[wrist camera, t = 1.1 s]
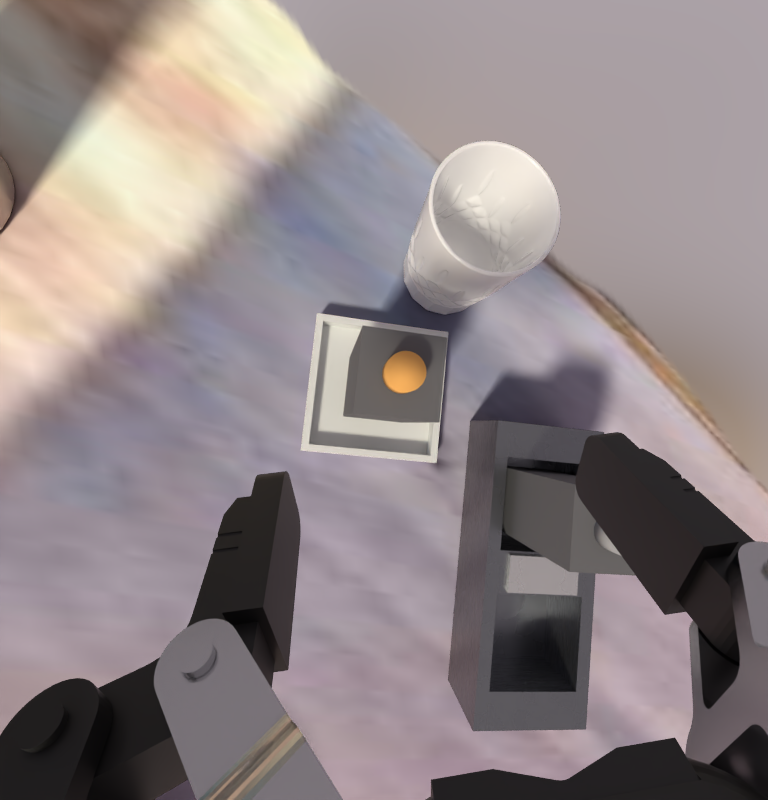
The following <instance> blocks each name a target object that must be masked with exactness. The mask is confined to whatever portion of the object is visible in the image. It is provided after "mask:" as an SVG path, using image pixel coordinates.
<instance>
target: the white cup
mask: <svg viewBox="0 0 768 800" xmlns="http://www.w3.org/2000/svg"><path fill="white" fill-rule="evenodd" d="M560 220H561V210H560V203H559V198H558V195H557V192H556V189H555V186H554V184H553V182H552V180H551V179H550V177H549V175H548V174H547V172H546V171H545V170H544V168H543V167H542V166H541V165H540V164H539V163H538V162H537V161H536V160H535V159H534V158H533V157H531V156H530V155H529V154H527V153H526V152H525V151H523V150H521V149H519V148H517V147H515V146H513V145H510V144H507V143H503V142H498V141H478V142H473V143H469V144H466V145H464V146H462V147H460V148H458V149H456V150H455V151H454V152H452V153H451V154H450V155H449V156H447V157H446V158H445V159H444V161H443V162H442V163H441V164H440V166H439V167H438V169H437V171H436V173H435V175H434V177H433V180H432V182H431V185H430V188H429V191H428V193H427V196H426V199H425V201H424V204H423V207H422V209H421V212H420V214H419V217H418V220H417V222H416V225H415V228H414V231H413V234H412V237H411V240H410V245H409V250H408V253H407V255H406V258H405V260H404V282H405V284H406V286H407V288H408V290H409V292H410V294H411V296H412V298H413V299H414V300H415V301H416V302H418V303H419V304H420V305H421V306H422V307H424V308H425V309H426V310H428V311H432V312H436V313H440V314H444V315H446V314H451V313H455V312H460V311H463V310H465V309H466V308H468V307H469V306H471V305H472V304H474V303H477V302H479V301H481V300H483V299H484V298H486V297H488V296H489V295H491V294H493V293H495V292H496V291H498V290H499V289H501V288H502V287H504V286H506V285H507V284H509V283H510V282H512V281H513V280H515V279H516V278H518V277H520V276H521V275H523V274H524V273H526V272H527V271H529V270H531V269H532V268H534V267H535V266H537V265H538V264H539V263H540V262H541V261H543V260H544V258H545V257H546V256H547V255H548V254H549V252H550V251H551V249H552V248H553V246H554V243H555V241H556V239H557V236H558V232H559V228H560Z"/></svg>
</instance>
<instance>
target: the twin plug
mask: <svg viewBox="0 0 768 800" xmlns="http://www.w3.org/2000/svg"><path fill="white" fill-rule="evenodd" d="M575 479H576V476H575V475H570V474H566V473H561V472H556V471H551V470H547V469H537V468H526V467H515V466H507V473H506V486H505V499H504V511H503V524H502V532H504V533H506V534H507V535H509V536H511V537H512V538H514V539H516V540H517V541H519V542H521V543H522V544H524V545H526V546H527V547H529V548H531V549H532V550H534V551H536V552H537V553H539V554H540V555H542V556H544V557H545V558H547V559H549V560H550V561H552V562H554V563H555V564H557V565H559V566H560V567H562V568H564V569H565V570H567V571H569V572H579V573H598V574H618V575H635V574H634V572H633V571H632V569H631V568H630V567H629V565H628V564H627V563H626V561H625V560H624V559H623V557H622V556H621V554H620V553H619V552H618V550H617V549H616V548H615V546H614V545H613V544H612V542H611V541H610V539H609V538H608V537H607V535H606V534H605V533H604V531H603V530H602V529H601V527H600V526H599V524H598V523H597V522H596V520H595V519H594V518H593V516H592V515H591V514H590V512H589V511H588V509H587V508H586V507H585V505H584V504H583V503H582V501H581V500H580V498H579V496H578V493H577V490H576V484H575Z"/></svg>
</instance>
